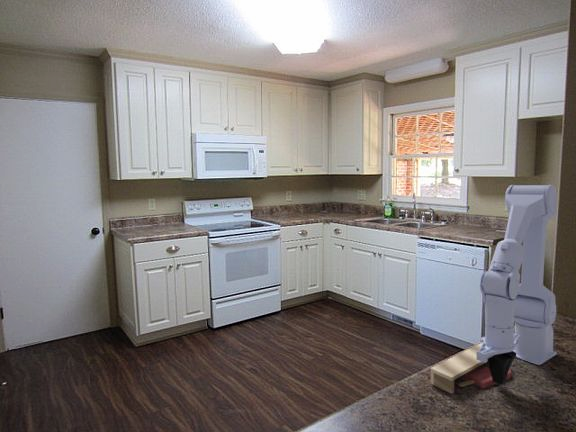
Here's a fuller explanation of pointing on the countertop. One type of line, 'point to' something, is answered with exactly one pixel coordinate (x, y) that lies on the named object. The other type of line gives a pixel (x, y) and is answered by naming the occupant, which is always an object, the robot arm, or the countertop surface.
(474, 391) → the countertop surface
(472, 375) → the popsicle
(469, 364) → the rail
